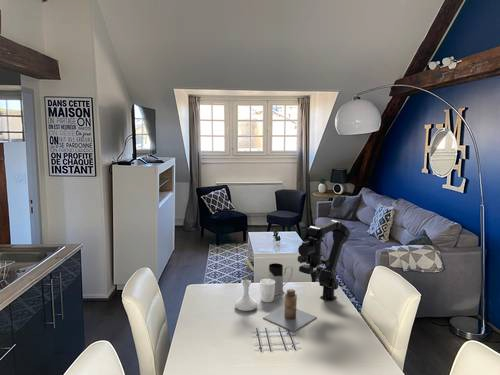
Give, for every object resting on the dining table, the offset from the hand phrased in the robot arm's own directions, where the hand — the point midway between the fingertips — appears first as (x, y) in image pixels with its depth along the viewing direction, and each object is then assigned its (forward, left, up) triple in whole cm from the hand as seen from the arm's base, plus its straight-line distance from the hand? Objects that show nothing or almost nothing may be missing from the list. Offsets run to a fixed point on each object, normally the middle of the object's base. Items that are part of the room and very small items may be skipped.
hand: (314, 281), depth 191 cm
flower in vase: (+24, -24, -13) cm, 36 cm away
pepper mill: (+18, -1, -12) cm, 22 cm away
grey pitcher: (-3, -24, -13) cm, 28 cm away
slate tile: (+18, -1, -13) cm, 22 cm away
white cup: (+10, -22, -13) cm, 28 cm away
